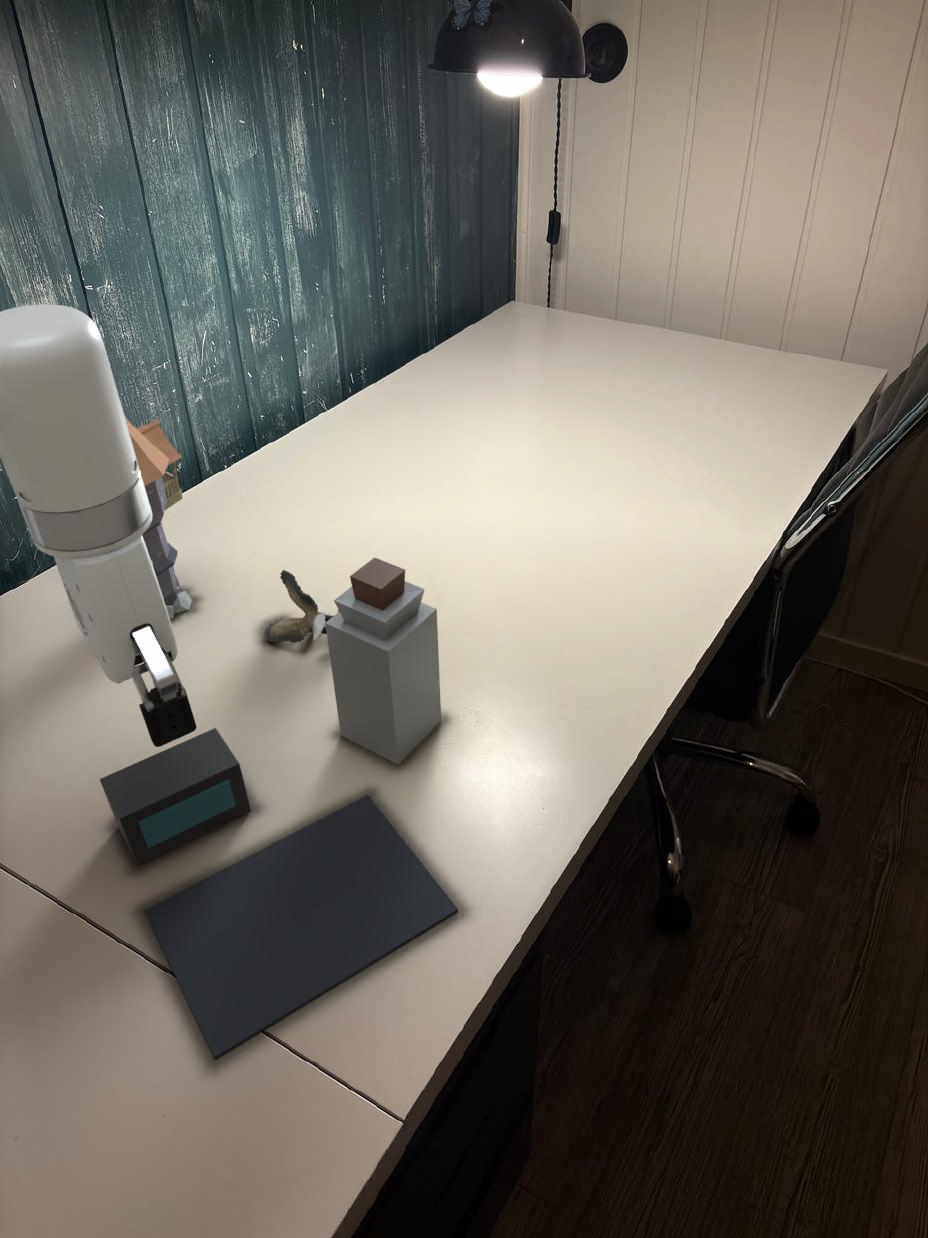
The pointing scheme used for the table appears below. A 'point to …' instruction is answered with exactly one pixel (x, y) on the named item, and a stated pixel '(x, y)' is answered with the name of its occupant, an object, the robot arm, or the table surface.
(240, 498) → the table surface
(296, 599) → the eagle figurine
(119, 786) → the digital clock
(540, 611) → the table surface
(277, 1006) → the rubber mat
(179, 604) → the model tower
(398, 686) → the perfume bottle
